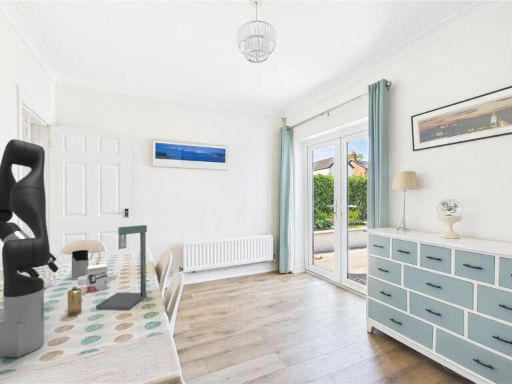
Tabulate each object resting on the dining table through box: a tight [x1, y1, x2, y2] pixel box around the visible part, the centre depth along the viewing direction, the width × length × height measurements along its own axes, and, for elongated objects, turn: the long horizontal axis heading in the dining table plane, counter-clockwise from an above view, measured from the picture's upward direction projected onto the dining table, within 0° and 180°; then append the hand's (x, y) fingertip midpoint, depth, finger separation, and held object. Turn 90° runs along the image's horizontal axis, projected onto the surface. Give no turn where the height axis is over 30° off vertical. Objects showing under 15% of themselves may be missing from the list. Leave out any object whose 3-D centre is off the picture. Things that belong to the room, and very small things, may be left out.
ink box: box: [86, 263, 109, 294], centre depth 127 cm, size 8×5×12 cm, turn 123°
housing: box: [67, 286, 83, 317], centre depth 102 cm, size 4×4×10 cm
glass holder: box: [70, 249, 101, 281], centre depth 148 cm, size 9×14×15 cm, turn 132°
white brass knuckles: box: [77, 270, 117, 286], centre depth 142 cm, size 3×18×15 cm
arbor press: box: [95, 224, 148, 311], centre depth 112 cm, size 15×15×32 cm
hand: (47, 274), depth 103 cm, fingers open, 8 cm apart
